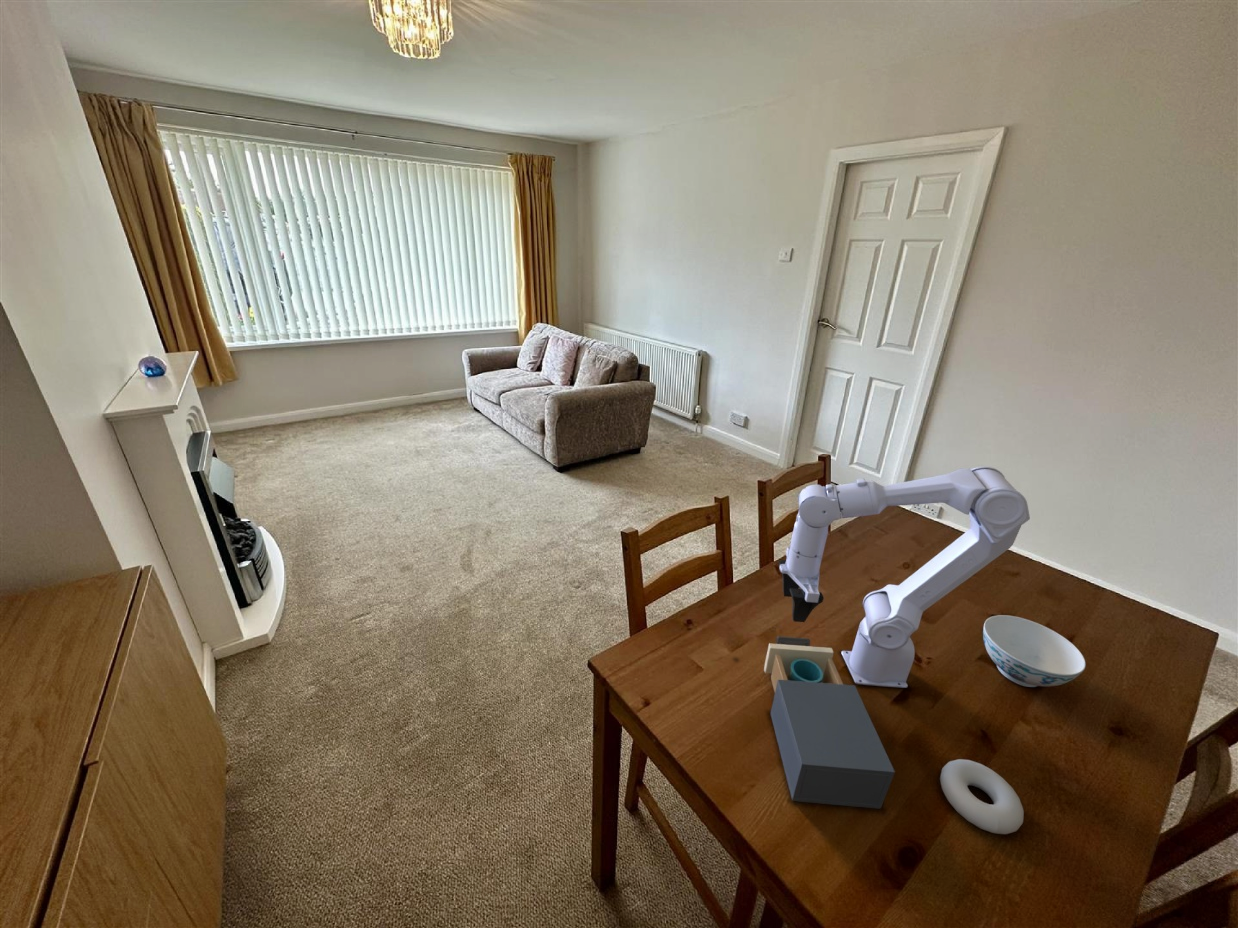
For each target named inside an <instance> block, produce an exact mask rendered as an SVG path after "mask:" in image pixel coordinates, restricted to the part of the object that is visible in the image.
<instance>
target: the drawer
mask: <svg viewBox="0 0 1238 928" xmlns="http://www.w3.org/2000/svg"><path fill="white" fill-rule="evenodd" d="M775 639H776V640H775V641H776V643H770V642H769V643H768V646H767V652H766V656H765V661H764V667H763V671H764V674H769V675H770V681H771V684H772V688H773V692H774V693H775V691H776V686H777V681H778V680H788V677H789V672H790V668H791V664H792V662H793V661H794V660H797V659H807V660H810V661H812V662H814V663H815V664H817V665H818V666H819V667H820V668H821V670H822V672H823V679H822V683H830V684H843V685H844V683H843V681H842V679H841V676H840V673H839V672H838V669H837V667H836V664H835V662H834V660H833V657H834V650H833V648H832V647H824V646H823V647H822V646H811V640H810V639H809V638H807V637H806V638H805V637H794V636H793V637H792V636H781V635H779V636H778V635H777V636H776V638H775Z"/></svg>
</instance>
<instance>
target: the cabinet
mask: <svg viewBox="0 0 1238 928" xmlns="http://www.w3.org/2000/svg"><path fill="white" fill-rule="evenodd" d="M770 717H771V721H772V726H773V728H774V733H775V738H776V742H777V746H778V749H779V754H780V757H781V761H782V762H781V763H782V765H783V771H784V775H785V778H786V782H787V786H788V790H789V794H790V798H791V801H792V802H798V803H799V802H801V803H811V804H823V805H833V806H845V807H854V808H855V807H856V808H865V809H875V810H876V809H878V810H881V809H882V806H883V804H884V801H885V799H886V796H887V794H888V792H889V789H890V786H891V784H892V781H893V779H894V776H895V773H896V771H895V769H894V767H893V764H892V762H891V761H890V758H889V756H888V754H887V752H886V749H885V747H884V745H883V742H882V741H881V739H880V737H879V734H878V733H877V730H876V728H875V725H874V723H873V722H872V719H871V717H870V715H869V713H868V710H867V708H866V706H865V704H864V702H863V699H862V697H861V695H860V693H859V691H858V689H857V687H856V685H855V684H854V685H853V684H844V683H843V684H830V683H817V682H804V681H791V680H778V681H777V686H776V691H775V692H774V696H773V701H772V704H771V710H770Z"/></svg>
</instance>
